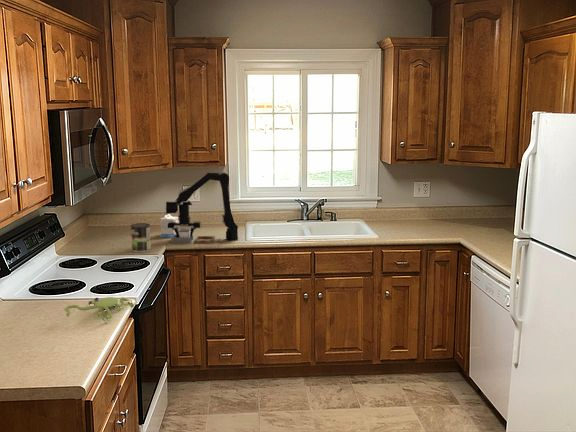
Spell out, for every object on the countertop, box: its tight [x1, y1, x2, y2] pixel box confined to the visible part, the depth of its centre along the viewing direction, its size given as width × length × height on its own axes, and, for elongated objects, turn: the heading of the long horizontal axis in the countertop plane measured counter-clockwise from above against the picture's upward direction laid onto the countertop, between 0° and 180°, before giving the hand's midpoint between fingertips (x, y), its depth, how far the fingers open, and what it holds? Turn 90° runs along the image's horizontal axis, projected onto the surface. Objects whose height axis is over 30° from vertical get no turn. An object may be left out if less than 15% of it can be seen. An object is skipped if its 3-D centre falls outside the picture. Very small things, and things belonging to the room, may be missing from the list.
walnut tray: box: [194, 235, 216, 244], centre depth 357 cm, size 10×12×2 cm
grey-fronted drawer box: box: [179, 228, 191, 238], centre depth 356 cm, size 5×7×7 cm
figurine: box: [64, 296, 135, 322], centre depth 238 cm, size 18×27×6 cm
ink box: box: [160, 213, 180, 239], centre depth 370 cm, size 9×8×13 cm
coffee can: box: [130, 222, 152, 253], centre depth 337 cm, size 10×10×14 cm
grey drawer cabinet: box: [170, 234, 194, 244], centre depth 357 cm, size 11×11×4 cm
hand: (185, 239), depth 357 cm, fingers open, 6 cm apart
